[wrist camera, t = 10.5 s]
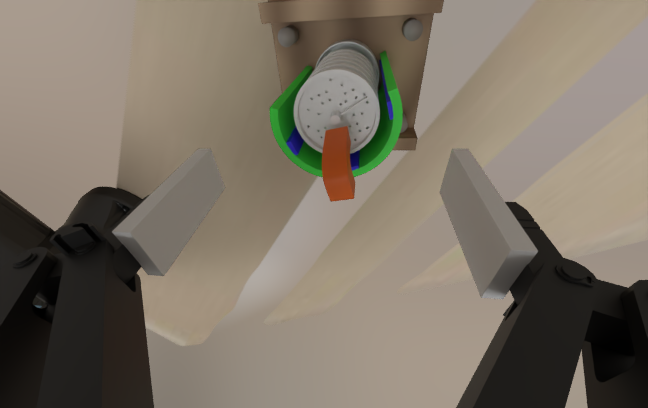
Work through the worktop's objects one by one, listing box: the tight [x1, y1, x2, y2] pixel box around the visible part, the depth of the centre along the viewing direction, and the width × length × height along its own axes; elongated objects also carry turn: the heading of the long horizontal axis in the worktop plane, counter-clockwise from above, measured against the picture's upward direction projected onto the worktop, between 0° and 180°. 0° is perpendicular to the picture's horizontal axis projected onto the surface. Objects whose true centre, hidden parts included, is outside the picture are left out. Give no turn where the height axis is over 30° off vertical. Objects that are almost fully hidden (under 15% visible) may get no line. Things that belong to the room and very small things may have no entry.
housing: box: [258, 0, 444, 150], centre depth 28 cm, size 16×15×4 cm
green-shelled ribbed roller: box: [270, 39, 403, 201], centre depth 22 cm, size 9×8×18 cm
